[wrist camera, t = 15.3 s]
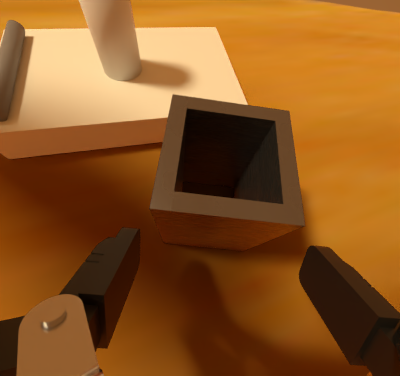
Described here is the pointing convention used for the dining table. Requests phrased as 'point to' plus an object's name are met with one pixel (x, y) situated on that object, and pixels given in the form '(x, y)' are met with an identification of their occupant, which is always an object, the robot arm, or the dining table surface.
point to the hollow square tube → (226, 175)
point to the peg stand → (103, 81)
